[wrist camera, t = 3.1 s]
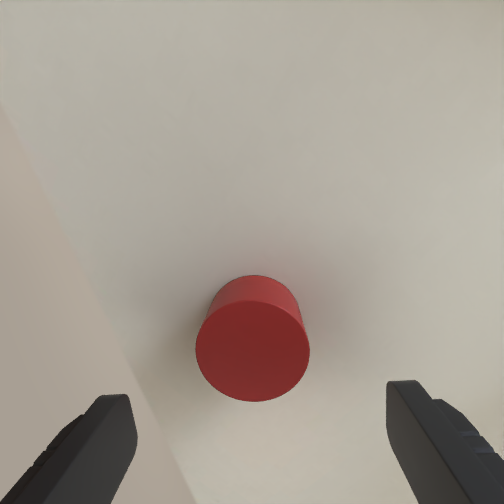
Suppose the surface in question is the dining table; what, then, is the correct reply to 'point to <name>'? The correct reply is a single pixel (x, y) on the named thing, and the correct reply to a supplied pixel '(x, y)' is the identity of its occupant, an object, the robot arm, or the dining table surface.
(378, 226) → the dining table surface
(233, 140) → the dining table surface
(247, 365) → the cylinder
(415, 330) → the dining table surface
